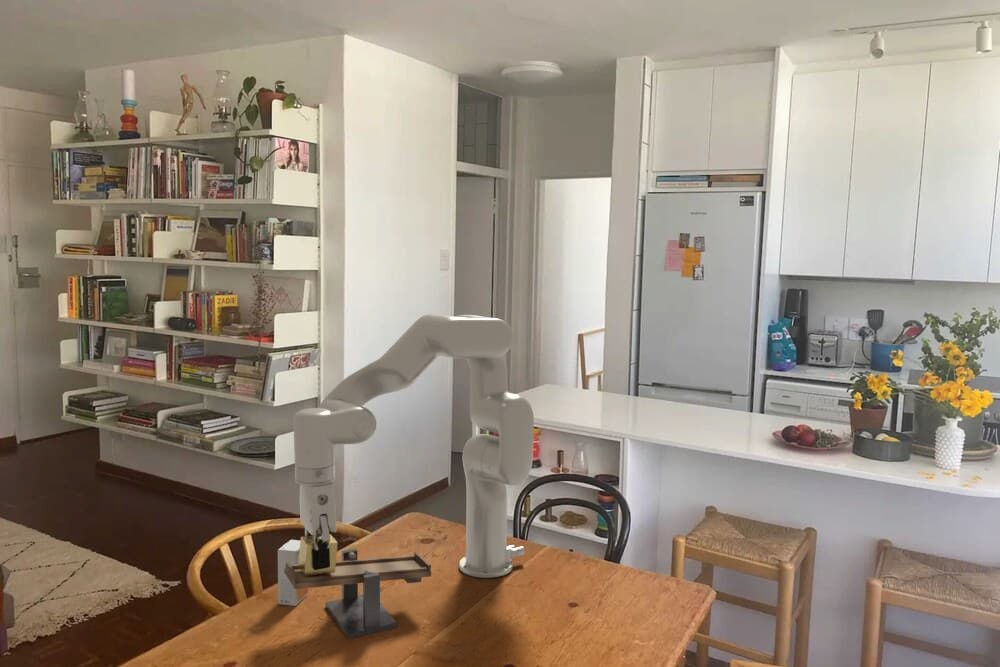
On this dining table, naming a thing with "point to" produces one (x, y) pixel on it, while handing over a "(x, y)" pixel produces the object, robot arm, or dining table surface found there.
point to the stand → (360, 607)
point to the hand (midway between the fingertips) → (317, 562)
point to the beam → (363, 571)
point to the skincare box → (285, 588)
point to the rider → (307, 556)
